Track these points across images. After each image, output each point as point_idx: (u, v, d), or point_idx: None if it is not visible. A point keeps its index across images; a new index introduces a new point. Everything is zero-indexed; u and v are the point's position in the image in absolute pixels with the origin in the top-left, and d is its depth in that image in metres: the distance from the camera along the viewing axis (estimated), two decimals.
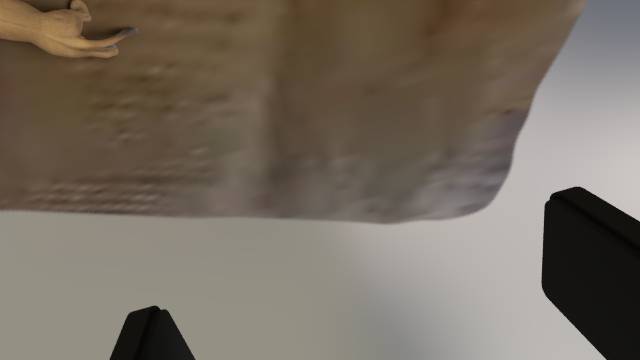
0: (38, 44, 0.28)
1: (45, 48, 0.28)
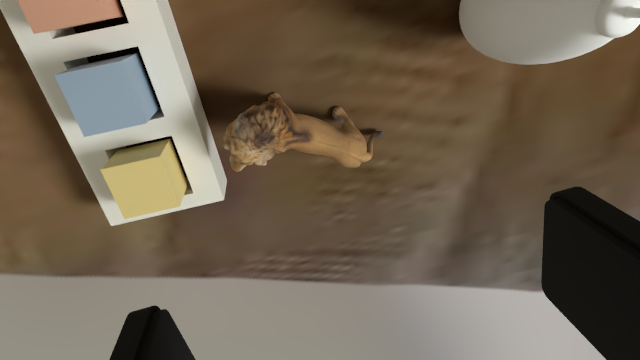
0: (340, 160, 0.32)
1: (344, 163, 0.32)
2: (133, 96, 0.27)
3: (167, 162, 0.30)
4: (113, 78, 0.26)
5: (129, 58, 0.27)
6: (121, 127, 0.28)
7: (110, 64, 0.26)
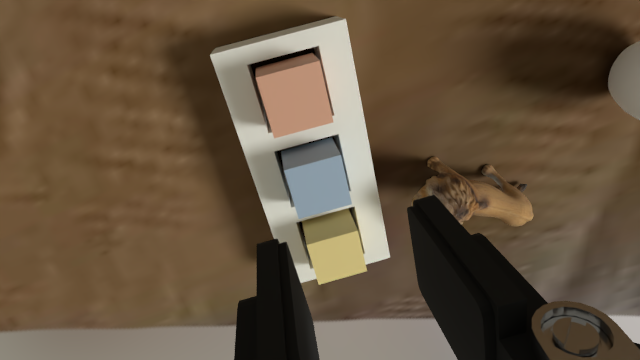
0: (510, 222, 0.35)
1: (513, 224, 0.35)
2: (345, 182, 0.30)
3: None
4: (331, 169, 0.29)
5: (336, 147, 0.31)
6: (330, 209, 0.31)
7: (331, 158, 0.29)
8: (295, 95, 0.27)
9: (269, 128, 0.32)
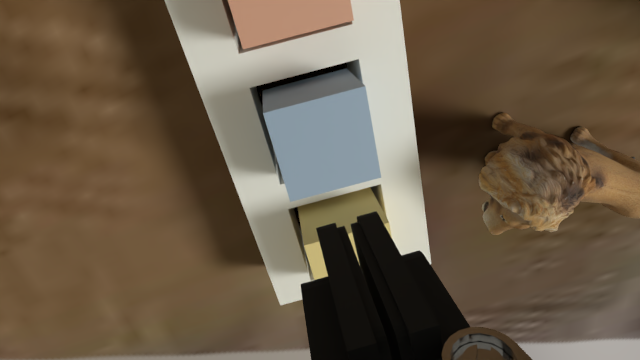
0: (633, 211, 0.22)
1: (636, 214, 0.22)
2: (372, 139, 0.17)
3: None
4: (348, 113, 0.17)
5: (356, 79, 0.18)
6: (345, 185, 0.18)
7: (349, 92, 0.16)
8: None
9: (242, 49, 0.19)
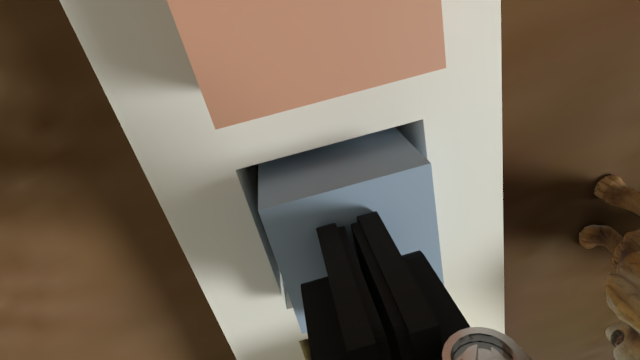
0: None
1: None
2: (434, 241, 0.11)
3: None
4: (400, 205, 0.10)
5: None
6: None
7: (403, 173, 0.10)
8: None
9: None
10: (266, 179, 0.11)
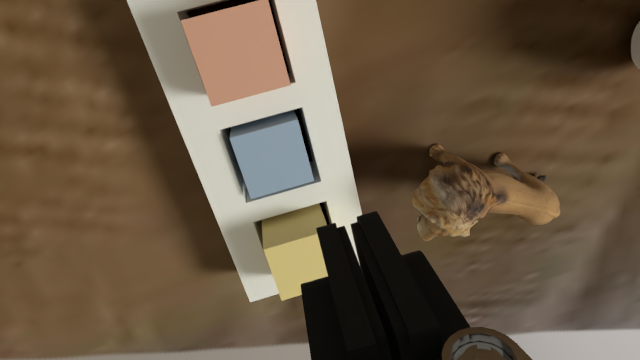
0: (534, 219, 0.28)
1: (537, 222, 0.29)
2: (305, 154, 0.25)
3: None
4: (287, 137, 0.25)
5: None
6: (289, 186, 0.26)
7: (287, 123, 0.24)
8: (237, 46, 0.20)
9: None
10: (234, 130, 0.25)
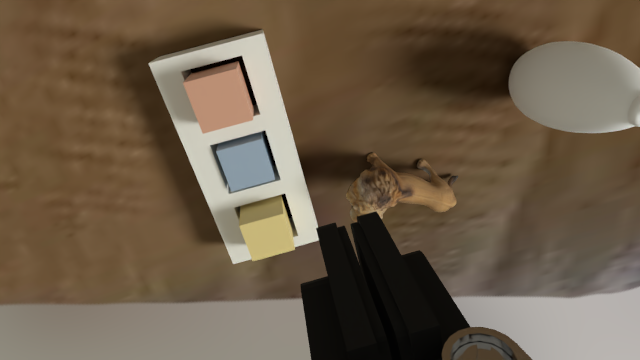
0: (434, 208, 0.40)
1: (437, 210, 0.41)
2: (267, 162, 0.37)
3: (285, 216, 0.39)
4: (255, 150, 0.37)
5: (261, 133, 0.38)
6: (257, 183, 0.38)
7: (254, 141, 0.36)
8: (218, 97, 0.32)
9: None
10: (219, 144, 0.37)
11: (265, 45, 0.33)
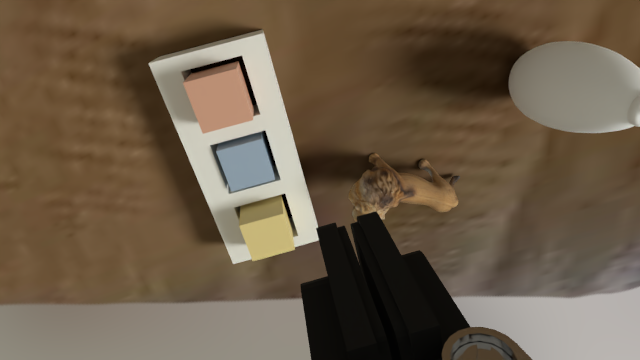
0: (436, 208, 0.40)
1: (439, 210, 0.41)
2: (267, 162, 0.37)
3: (285, 215, 0.39)
4: (255, 150, 0.37)
5: (262, 133, 0.38)
6: (257, 183, 0.38)
7: (254, 141, 0.36)
8: (218, 97, 0.32)
9: None
10: (219, 144, 0.37)
11: (265, 45, 0.33)
